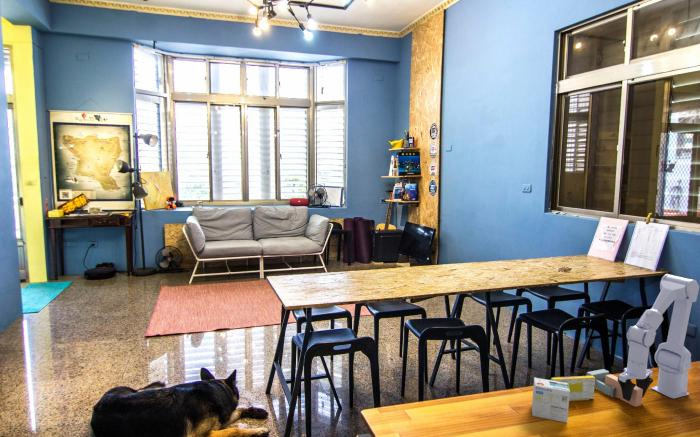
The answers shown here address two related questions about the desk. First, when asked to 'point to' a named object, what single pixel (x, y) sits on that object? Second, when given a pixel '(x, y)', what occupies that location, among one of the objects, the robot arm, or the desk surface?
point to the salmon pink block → (613, 381)
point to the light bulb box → (550, 399)
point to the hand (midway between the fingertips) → (633, 397)
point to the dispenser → (602, 382)
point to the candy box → (579, 387)
